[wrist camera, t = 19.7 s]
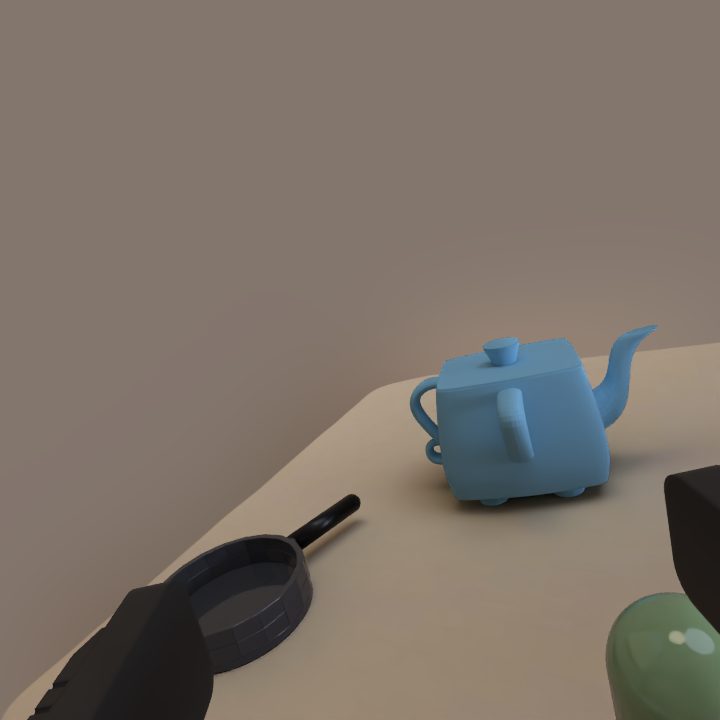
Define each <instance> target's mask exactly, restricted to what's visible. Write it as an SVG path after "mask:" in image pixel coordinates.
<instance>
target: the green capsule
mask: <svg viewBox="0 0 720 720" xmlns="http://www.w3.org/2000/svg"><path fill="white" fill-rule="evenodd" d="M606 668H607V674H608V680H609V685H610V690H611V696H612V701H613V706H614V712H615V717H616V720H720V635H719V633H718V632H717V631H716V630H715V629H714V628H713V627H712V625H711V624H710V623H709V622H708V621H707V620H706V619H705V618H704V616H703V615H702V614H701V613H700V612H699V611H698V610H697V609H696V607H695V606H694V605H693V604H692V602H691V601H690V600H689V598H688V596H687V595H686V594H684V593H675V592H664V593H657V594H652V595H648V596H645V597H643V598H640V599H638V600H636V601H635V602H633V603H632V604H630V605H629V606H627V607H626V608H625V609H624V610H623V611H622V612H621V613H620V614H619V616H618V617H617V618H616V620H615V621H614V623H613V625H612V627H611V630H610V632H609V635H608V639H607V644H606Z"/></svg>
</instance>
